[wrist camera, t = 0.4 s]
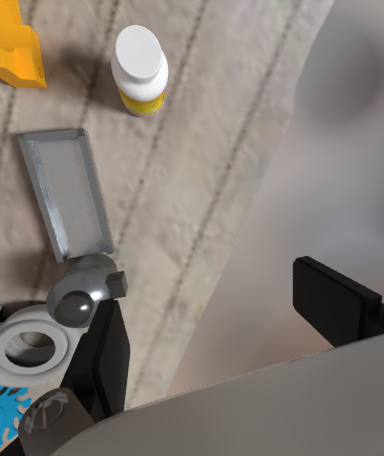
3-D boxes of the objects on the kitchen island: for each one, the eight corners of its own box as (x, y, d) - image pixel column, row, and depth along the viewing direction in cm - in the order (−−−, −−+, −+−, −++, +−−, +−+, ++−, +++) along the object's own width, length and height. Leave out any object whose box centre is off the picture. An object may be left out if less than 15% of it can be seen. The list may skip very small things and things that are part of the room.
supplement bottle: (166, 117, 35) (175, 88, 23) (125, 120, 34) (112, 91, 22) (160, 70, 34) (166, 12, 21) (117, 72, 33) (97, 12, 20)
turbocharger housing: (82, 360, 45) (88, 298, 42) (74, 389, 39) (80, 319, 36) (-16, 365, 40) (-18, 295, 37) (-42, 400, 34) (-47, 320, 31)
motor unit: (26, 137, 32) (-42, 118, 21) (99, 130, 34) (72, 109, 23) (75, 296, 40) (45, 345, 29) (132, 284, 42) (126, 327, 30)
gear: (39, 386, 42) (6, 459, 36) (49, 384, 47) (20, 447, 41) (-21, 375, 40) (-65, 448, 35) (-5, 373, 45) (-41, 437, 40)
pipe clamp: (47, 88, 32) (22, 68, 25) (14, 87, 31) (-20, 66, 25) (30, -13, 29) (-3, -64, 22) (-7, -18, 28) (-52, -71, 22)
